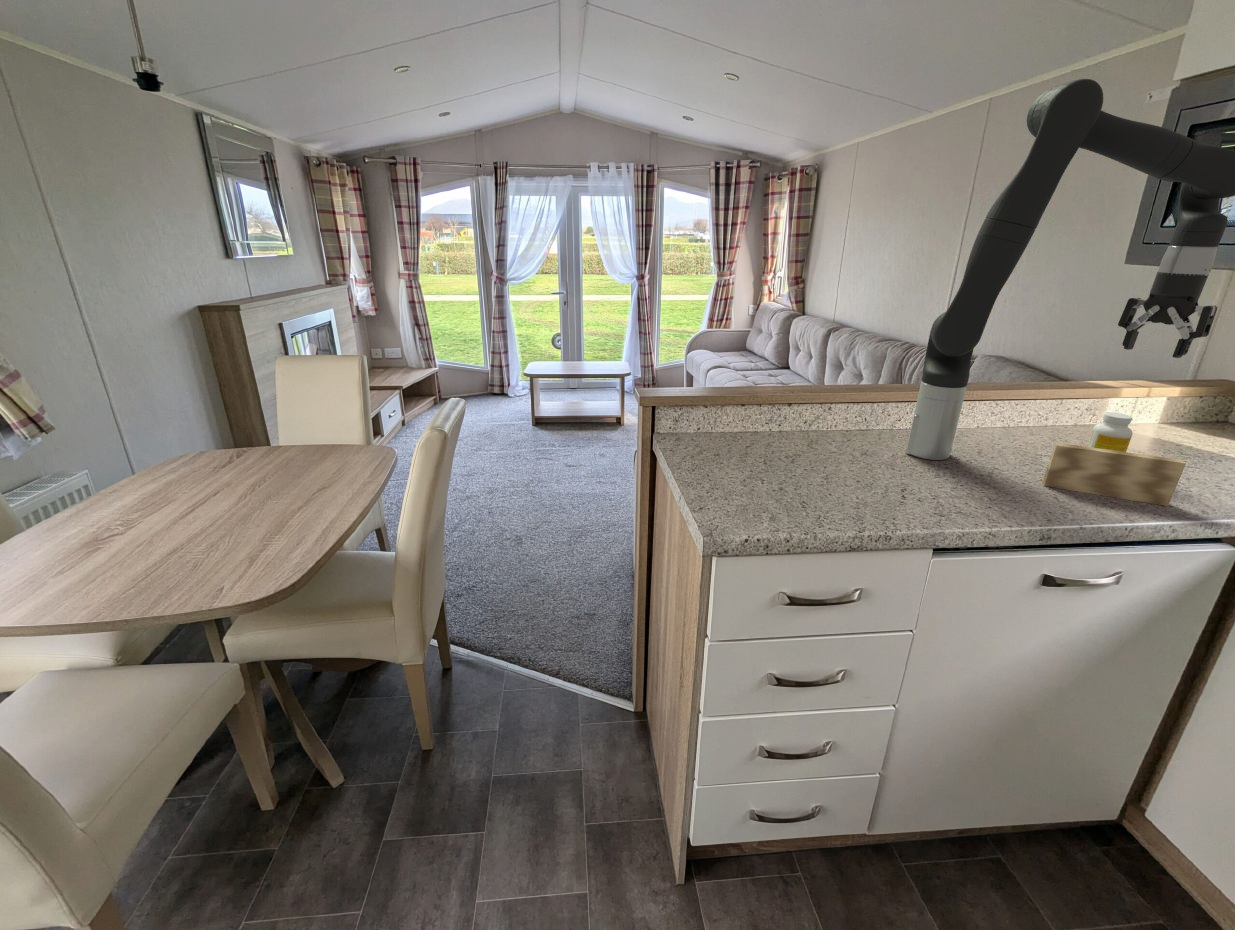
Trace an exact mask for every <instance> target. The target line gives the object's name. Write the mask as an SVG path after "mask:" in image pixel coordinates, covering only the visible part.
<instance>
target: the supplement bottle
mask: <svg viewBox="0 0 1235 930" xmlns="http://www.w3.org/2000/svg"><path fill="white" fill-rule="evenodd" d="M1132 420H1133V417H1132V415H1129V414H1126V413H1122V412H1115V411H1107V412H1104V413H1103V416H1102V422H1099V423H1097V424H1095V425H1094V426H1093V429H1092V432H1091V434H1090V438H1089V441H1088V444H1087V446H1086V447H1092V448H1099V449H1106V450H1114V451H1121V452H1128V451H1127V450H1128V448H1129V445H1130V443H1131V440H1132V437H1133V431H1132V429H1131V428H1130V427H1129V425H1130V424H1131V423H1132Z"/></svg>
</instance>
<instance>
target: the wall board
mask: <svg viewBox="0 0 1235 930" xmlns="http://www.w3.org/2000/svg"><path fill="white" fill-rule="evenodd" d="M1186 465H1187V463H1186V462H1185V461H1184V460H1183V459H1179V458H1171V457H1165V456H1164V457H1163V456H1157V455H1150V454H1149V455H1148V454H1142V453H1134V452H1128V451H1126V452H1121V451H1114V450H1106V449H1099V448H1092V447H1087V446H1084V445H1083V446H1082V445H1077V444H1076V445H1075V444H1071V443H1070V444H1069V443H1064V442H1063V443H1061V442H1055V443H1054V445H1053V448H1052V451H1051V455H1050V458H1049V461H1048V464H1047V467H1046V470H1045V472H1044V473H1045V474H1044V476H1043V480H1042V484H1043V486H1044V487H1049V488H1056V489H1062V490H1067V491H1074V492H1079V493H1085V494H1090V495H1091V494H1092V495H1099V496H1103V497H1110V498H1116V499H1122V500H1127V501H1128V500H1129V501H1132V502H1133V501H1135V502H1140V503H1146V504H1152V505H1159V506H1164V507H1169V505H1170V503H1171V500H1172V498H1173V496H1174V493H1175V491H1176V489H1177V486H1178V484H1179V481H1180V479H1181V477H1182V474H1183V472H1184V470H1185V467H1186Z"/></svg>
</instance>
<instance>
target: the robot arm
mask: <svg viewBox="0 0 1235 930" xmlns="http://www.w3.org/2000/svg"><path fill="white" fill-rule="evenodd" d="M1103 104H1104V92H1103V88H1102V87H1101V85H1100V83H1098V81H1096V80H1094V79H1089V78H1082V79H1075V80H1071V81H1068V82H1065V83H1062V84H1060V85H1056V86H1054V87H1052V88H1050V89H1048V90H1046V91H1044V92H1043V93H1041V94H1040V95H1039V96H1038V97H1037V98H1036V99H1035V100H1034V101H1033V102H1032V104H1031V106H1030V107H1029V109H1028V112H1027V115H1026V127H1027V129H1028V132H1030V134H1031V135H1032V136H1033V137H1034V138H1035V139H1034V141H1033V143H1032V145H1031V148H1030V150H1029V153H1028V154H1027V156H1026V159H1025V160H1024V162H1023V164H1022V165H1021V167H1020V169H1018V171H1017V172H1016V174H1015V175H1014V176H1013V178H1012V179H1011V180H1010V181H1009V183H1008V184H1007V185H1006V187H1005V188H1004V189H1003V191H1002V192H1001V193H1000V194H999V195H998V197H997V198H996V200H995V201H994V203H993V204H992V206H991V207H990V209H989V210H988V212H987V214H986V216H985V218H984V220H983V222H982V224H981V227H980V228H979V231H978V233H977V234H976V238H975V240H974V242H973V245H972V247H971V250H970V254H969V257H968V258H967V259H968V260H967V263H966V267H965V271H964V275H963V278H962V281H961V282H960V285H959V288H958V290H957V292H956V294H955V296H954V298H953V299H952V301H951V303H950V305H949V307H948V308H947V310H946V311H945V312H943V313H941V314H940V315H938V316H937V317H936V319H935V320H934V321H933V323H932V325H931V329H930V332H929V336H928V342H927V346H926V351H925V357H924V360H923V361H924V362H923V367H922V369H923V370H922V376H921V381H920V386H919V390H918V395H917V399H916V405H915V409H914V411H913V412H914V413H913V418H912V423H911V427H910V431H909V435H908V436H909V437H908V442H907V447H906V450H905V454H907V455H911V456H914V457H916V458H920V459H924V460H932V461H941V460H947V459H949V458H950V456H951V452H952V449H953V444H954V441H955V438H956V437H955V436H956V432H957V429H958V424H959V420H960V416H961V413H962V408H963V404H964V399H965V395H966V392H967V389H968V383H969V380H970V376H971V375H970V371H971V361H972V357H973V352H974V348H976V346H977V345H978V344H979V342H980V340H981V339H982V336H983V334H984V330H985V328H986V326H987V322H988V320H989V318H990V315H991V312H992V311H993V308H994V306H995V303H996V301H997V298H998V296H999V295H1000V293H1001V291H1002V290H1003V288H1004V287H1005V284H1006V283H1007V282H1008V280H1009V278H1010V277H1011V274H1013V272H1014V270H1015V268H1016V266H1017V265H1018V263H1019V262H1020V259H1021V257H1023V254H1024V252H1025V250H1026V249H1027V246H1028V245H1029V243H1030V241H1031V239H1032V238H1033V236H1034V233H1035V231H1036V229H1037V227H1038V226H1039V223H1040V221H1041V219H1042V217H1043V215H1044V213H1045V211H1046V209H1047V207H1048V205H1049V204H1050V202H1051V199H1052V197H1053V195H1054V193H1055V191H1056V189H1057V187H1058V185H1059V183H1060V181H1061V180H1062V178H1063V176H1064V173H1065V171H1066V170H1067V168H1068V166H1069V165H1070V163H1071V161H1072V160H1073V158H1074V157H1075V154H1076V153H1077V152H1078V150H1079V149H1082V150H1087V151H1090V152H1093V153H1095V154H1098V155H1101V156H1103V157H1106V158H1108V159H1111V160H1113V161H1115V162H1118V163H1119V164H1120V163H1121V164H1123V165H1125V166H1127V167H1129V168H1132V169H1134V170H1137V171H1139V172H1141V173H1144V174H1146V175H1148V176H1151V177H1153V178H1155V179H1158V180H1161V181H1165V182H1170V183H1171V182H1173V183H1182V184H1181V186H1180V191H1179V197H1178V205H1177V206H1178V207H1177V221H1176V226H1175V228H1174V232H1173V234H1172V236H1171V240H1170V242H1169V243H1168V245H1169V246H1168V247H1167V249H1166V251H1165V253H1164V255H1163V256H1162V259H1161V261H1160V264H1159V267H1158V270H1157V272H1156V275H1155V278H1154V281H1153V284H1152V286H1151V288H1150V291H1149V295H1148V297H1147V299H1142V298H1140V297H1131V298H1128V299H1127V301H1126V304H1125V307H1124V308H1123V311H1122V314H1121V316H1120V318H1119V321H1118V323H1117V325H1118V327H1120V328H1123V329H1125V330H1126V332H1125V335H1124V338H1123V341H1122V343H1121V344H1122V346H1123V349H1124V350H1127V351H1128V350H1133V348H1134V347H1135V345H1136V341H1137V339H1138V337H1139V336H1138V335H1139V333H1140V331H1139V330H1141V329H1142V328H1143V327H1144V326H1146V325H1149V324H1150V323H1152V324H1160V323H1161V324H1164V325H1168V326H1173V325H1174V326H1175V329H1176V330H1177V331H1178V332H1179V335H1180V336H1181V338H1179V339H1178V341H1177V344H1176V345H1175V348H1174V351H1173V354H1172V358H1176V359H1180V358H1182V357H1183V356H1186V355H1187V354H1188V353H1189V350H1190V348H1191V345H1192V342H1193V341H1194V340H1195V339H1198V338H1206V337H1208V336H1209V334H1210V332H1211V328H1212V325H1213V323H1214V320H1215V317H1216V314H1217V311H1218V305H1214V304H1213V305H1212V304H1211V305H1199V299H1200V298H1201V295H1202V294H1203V290H1204V288H1205V286H1206V283H1207V280H1208V278H1209V275H1210V273H1211V271H1212V270H1213V267H1214V266H1213V265H1214V262H1215V260H1216V256H1217V252H1218V251H1217V250H1218V247H1219V245H1220V242H1221V240H1222V238H1223V235H1224V233H1225V230H1226V228H1227V224H1228V217H1227V216H1226V215H1225V214H1223V213H1221V212H1219V209H1220V208H1219V207H1220V202H1221V199H1226V198H1227V199H1228V198H1231V197H1235V150H1233V149H1229V148H1226V147H1220V146H1217V145H1212V144H1211V145H1210V144H1206V143H1202V142H1199V141H1198V140H1195V139H1193V138H1191V137H1188V136H1186V135H1184V134H1181V133H1179V132H1177V131H1174V130H1172V129H1169V128H1166V127H1163V126H1159V125H1155V124H1150V123H1146V122H1140V121H1136V120H1132V119H1129V118H1128V119H1127V118H1124V117H1120V116H1117V115H1114V114H1111V113H1109V112H1106V111H1103V110H1102V109H1103ZM1142 307H1143V309H1144V311H1145V312H1144V313H1143V314H1142V315H1141V316H1139V317H1137V318H1136V319H1135V321H1133V320H1134V318H1135V317H1136V316H1135V315H1136V314H1137V311H1138V310H1140V309H1141V308H1142ZM1195 312H1197V316H1198V317H1199V318H1198V322H1197V325H1196V328H1195V329H1194V327H1193V325H1194V324H1193V322H1192V320H1191V318H1190V316H1191V315H1193V314H1195Z"/></svg>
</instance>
